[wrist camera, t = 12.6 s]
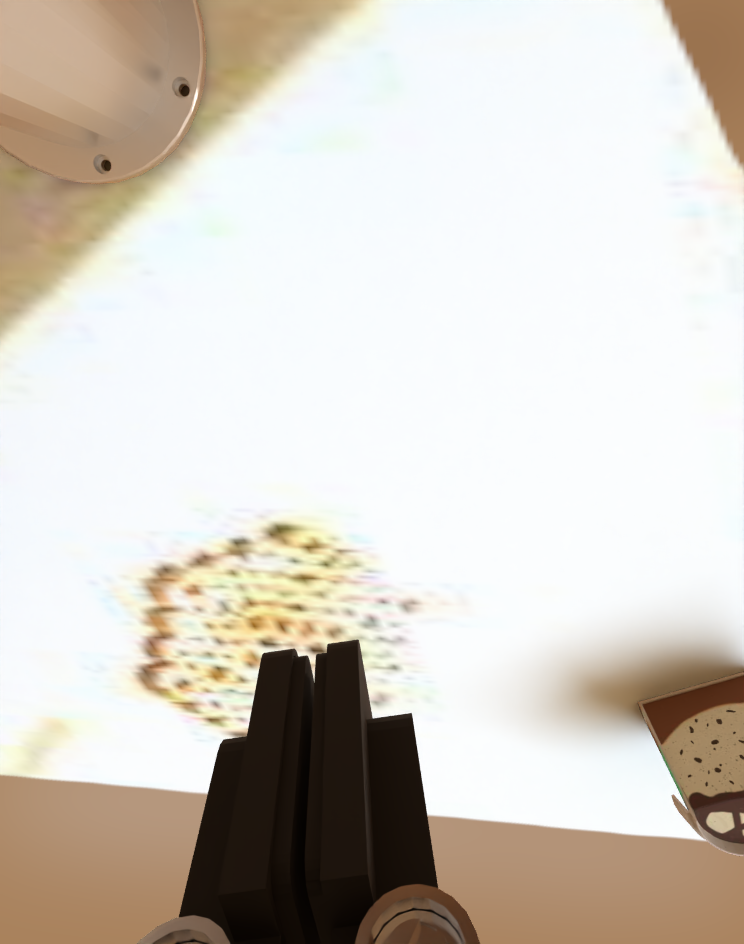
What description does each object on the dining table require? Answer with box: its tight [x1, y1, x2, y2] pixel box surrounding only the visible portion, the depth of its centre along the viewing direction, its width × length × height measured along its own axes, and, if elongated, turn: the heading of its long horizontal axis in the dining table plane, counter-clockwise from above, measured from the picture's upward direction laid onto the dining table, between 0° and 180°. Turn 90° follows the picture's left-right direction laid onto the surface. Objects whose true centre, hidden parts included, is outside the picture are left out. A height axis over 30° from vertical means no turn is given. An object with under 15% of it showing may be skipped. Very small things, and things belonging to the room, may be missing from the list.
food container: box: [638, 672, 744, 856], centre depth 43 cm, size 12×6×10 cm, turn 108°
